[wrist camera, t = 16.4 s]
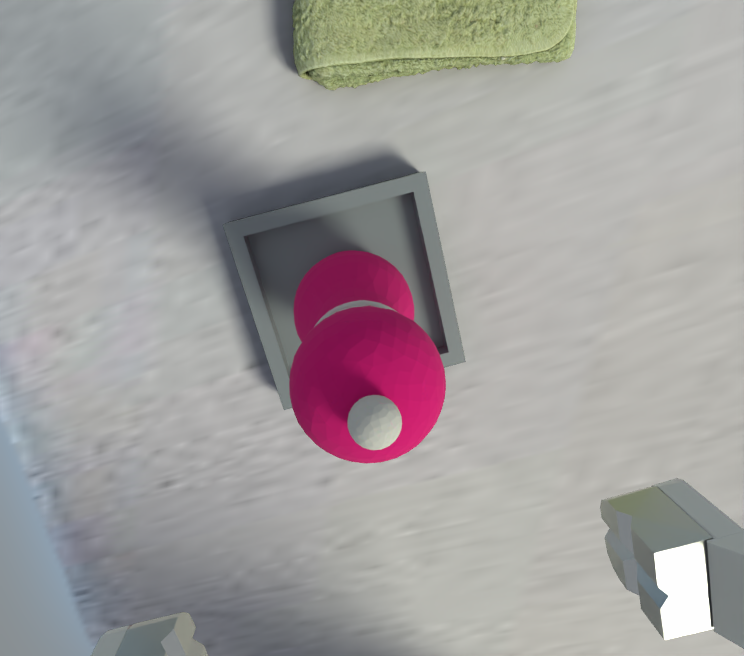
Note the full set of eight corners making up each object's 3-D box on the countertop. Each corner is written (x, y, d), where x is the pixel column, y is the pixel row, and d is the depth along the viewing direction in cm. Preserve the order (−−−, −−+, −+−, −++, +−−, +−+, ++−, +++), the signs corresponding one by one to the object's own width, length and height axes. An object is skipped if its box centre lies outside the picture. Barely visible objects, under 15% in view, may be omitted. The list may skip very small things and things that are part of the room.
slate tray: (458, 351, 38) (465, 361, 35) (286, 397, 38) (283, 410, 35) (419, 172, 34) (425, 171, 32) (229, 222, 34) (222, 224, 32)
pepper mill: (282, 324, 35) (226, 497, 16) (320, 225, 34) (307, 285, 14) (379, 360, 36) (434, 559, 17) (420, 266, 35) (531, 371, 16)
